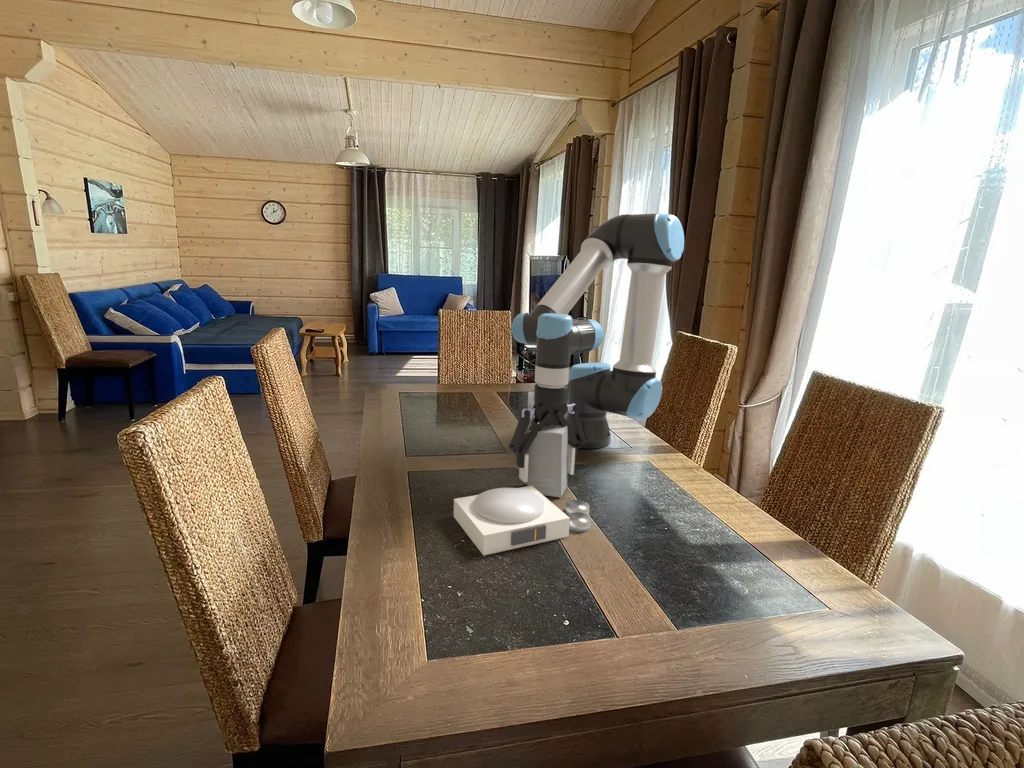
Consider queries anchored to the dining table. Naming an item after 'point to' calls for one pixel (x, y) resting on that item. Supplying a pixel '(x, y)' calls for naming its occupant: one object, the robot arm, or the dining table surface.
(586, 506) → the spacer
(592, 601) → the dining table surface
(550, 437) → the skincare box
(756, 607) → the dining table surface
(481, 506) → the scale
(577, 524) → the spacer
